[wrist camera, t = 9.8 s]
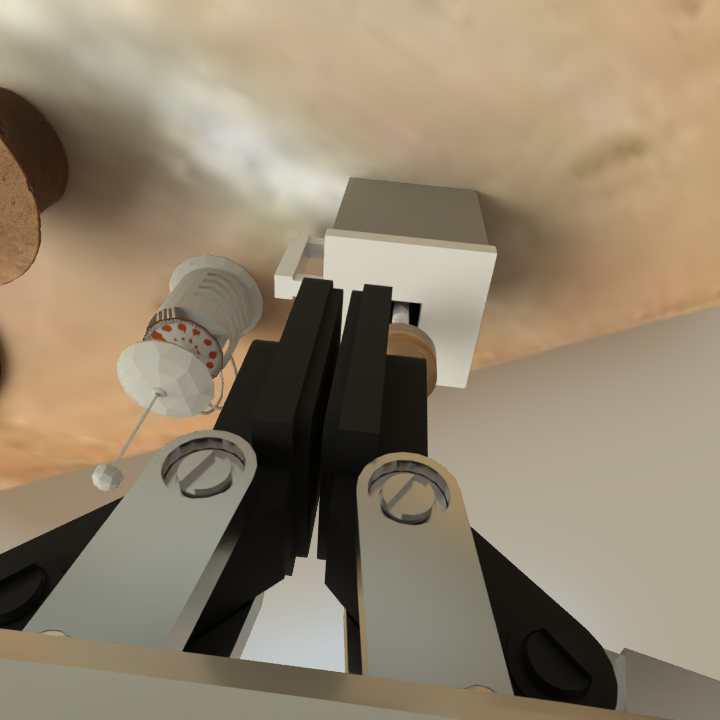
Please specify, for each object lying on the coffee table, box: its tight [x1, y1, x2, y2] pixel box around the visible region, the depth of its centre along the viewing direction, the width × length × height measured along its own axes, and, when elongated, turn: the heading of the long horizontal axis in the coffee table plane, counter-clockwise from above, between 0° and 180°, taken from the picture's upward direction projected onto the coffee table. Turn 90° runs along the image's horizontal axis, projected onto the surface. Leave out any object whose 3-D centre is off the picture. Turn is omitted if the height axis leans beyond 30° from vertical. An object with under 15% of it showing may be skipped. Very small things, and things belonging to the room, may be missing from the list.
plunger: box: [387, 300, 437, 397], centre depth 42 cm, size 5×5×18 cm
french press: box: [92, 254, 263, 491], centre depth 47 cm, size 10×12×25 cm
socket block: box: [274, 178, 497, 388], centre depth 46 cm, size 16×12×13 cm
